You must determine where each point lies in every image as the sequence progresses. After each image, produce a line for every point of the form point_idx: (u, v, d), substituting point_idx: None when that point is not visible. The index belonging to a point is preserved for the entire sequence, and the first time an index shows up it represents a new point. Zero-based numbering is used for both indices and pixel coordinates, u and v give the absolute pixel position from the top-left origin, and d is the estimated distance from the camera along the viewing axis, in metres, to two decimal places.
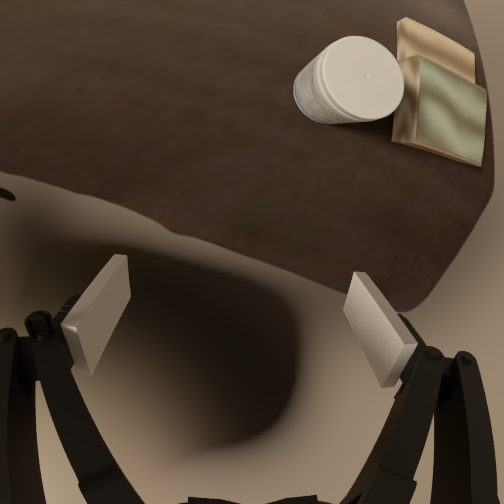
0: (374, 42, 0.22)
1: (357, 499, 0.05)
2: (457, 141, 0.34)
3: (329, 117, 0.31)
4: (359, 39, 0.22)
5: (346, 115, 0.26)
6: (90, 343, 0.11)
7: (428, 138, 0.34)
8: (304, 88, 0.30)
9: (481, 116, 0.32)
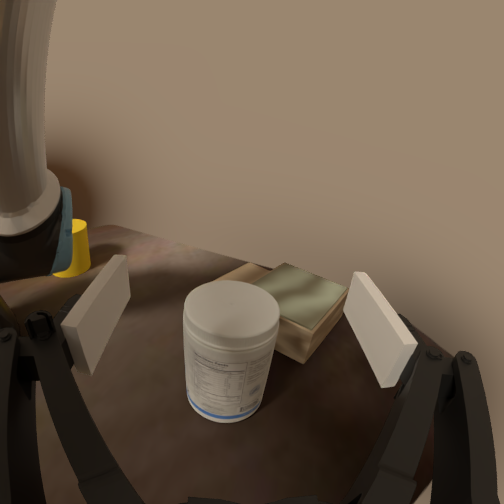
0: (205, 284, 0.30)
1: (357, 499, 0.05)
2: (323, 298, 0.46)
3: (253, 380, 0.27)
4: (195, 291, 0.29)
5: (261, 343, 0.25)
6: (90, 343, 0.11)
7: (313, 319, 0.41)
8: (208, 386, 0.27)
9: (305, 273, 0.53)
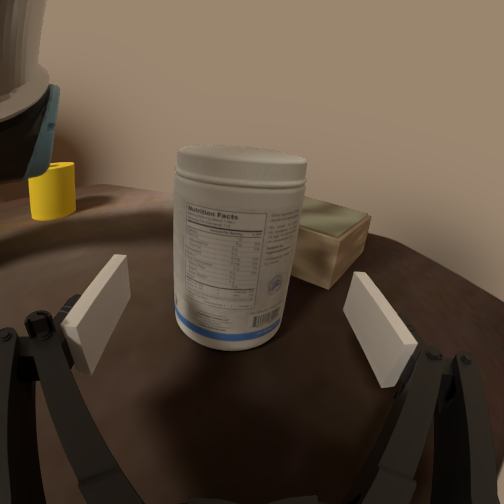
0: None
1: (357, 499, 0.05)
2: (344, 217, 0.39)
3: (274, 258, 0.19)
4: (194, 145, 0.21)
5: (287, 183, 0.18)
6: (90, 343, 0.11)
7: (337, 230, 0.33)
8: (205, 270, 0.19)
9: (319, 201, 0.46)
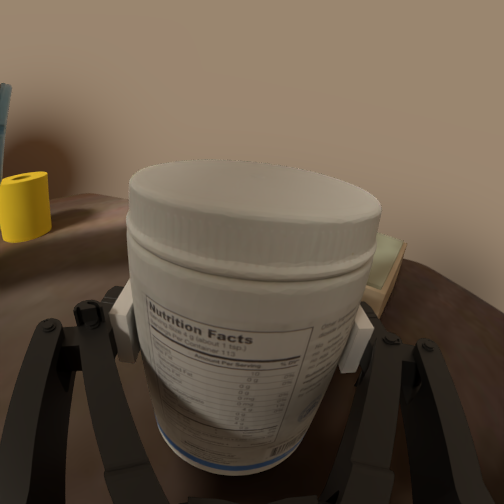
0: (191, 160, 0.13)
1: (335, 495, 0.05)
2: (379, 250, 0.29)
3: (315, 383, 0.10)
4: (167, 163, 0.12)
5: (357, 260, 0.08)
6: (135, 332, 0.12)
7: (378, 274, 0.24)
8: (193, 406, 0.10)
9: None
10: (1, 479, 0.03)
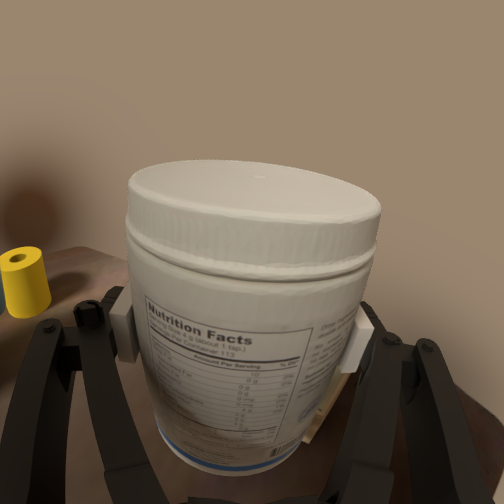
0: (191, 160, 0.13)
1: (335, 495, 0.05)
2: None
3: (315, 384, 0.10)
4: (166, 164, 0.12)
5: (357, 261, 0.08)
6: (135, 332, 0.12)
7: None
8: (192, 407, 0.09)
9: None
10: (1, 479, 0.03)
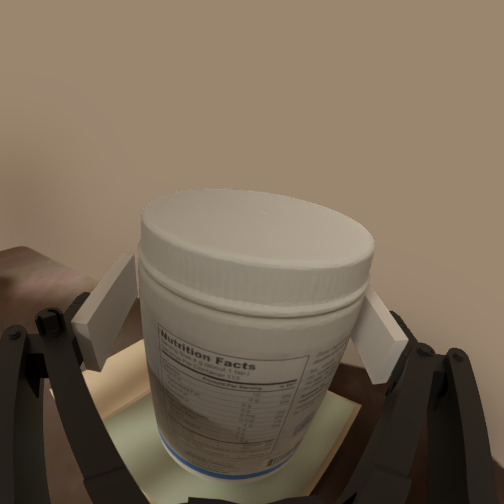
0: (197, 189, 0.14)
1: (352, 498, 0.05)
2: None
3: (310, 402, 0.11)
4: (174, 194, 0.13)
5: (350, 297, 0.09)
6: (100, 340, 0.11)
7: None
8: (197, 421, 0.10)
9: None
10: None
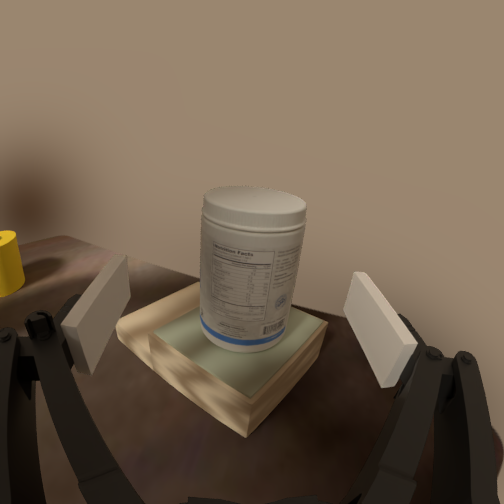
0: None
1: (357, 499, 0.05)
2: (281, 341, 0.30)
3: (280, 283, 0.25)
4: (215, 189, 0.27)
5: (290, 227, 0.23)
6: (90, 343, 0.11)
7: (257, 379, 0.25)
8: (227, 292, 0.25)
9: None
10: None
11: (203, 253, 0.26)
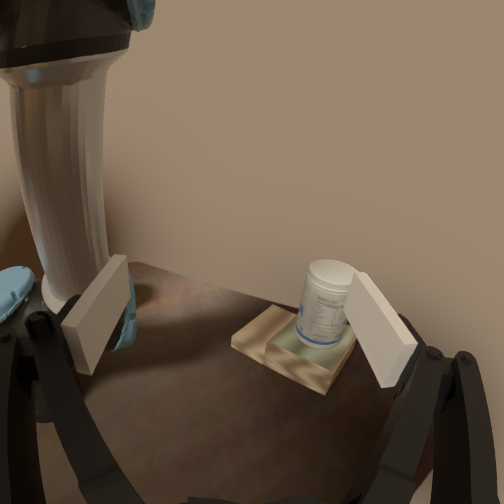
0: (315, 261, 0.52)
1: (357, 499, 0.05)
2: (339, 341, 0.54)
3: None
4: (312, 264, 0.51)
5: None
6: (90, 343, 0.11)
7: (333, 361, 0.49)
8: (322, 319, 0.49)
9: None
10: None
11: (309, 300, 0.50)
